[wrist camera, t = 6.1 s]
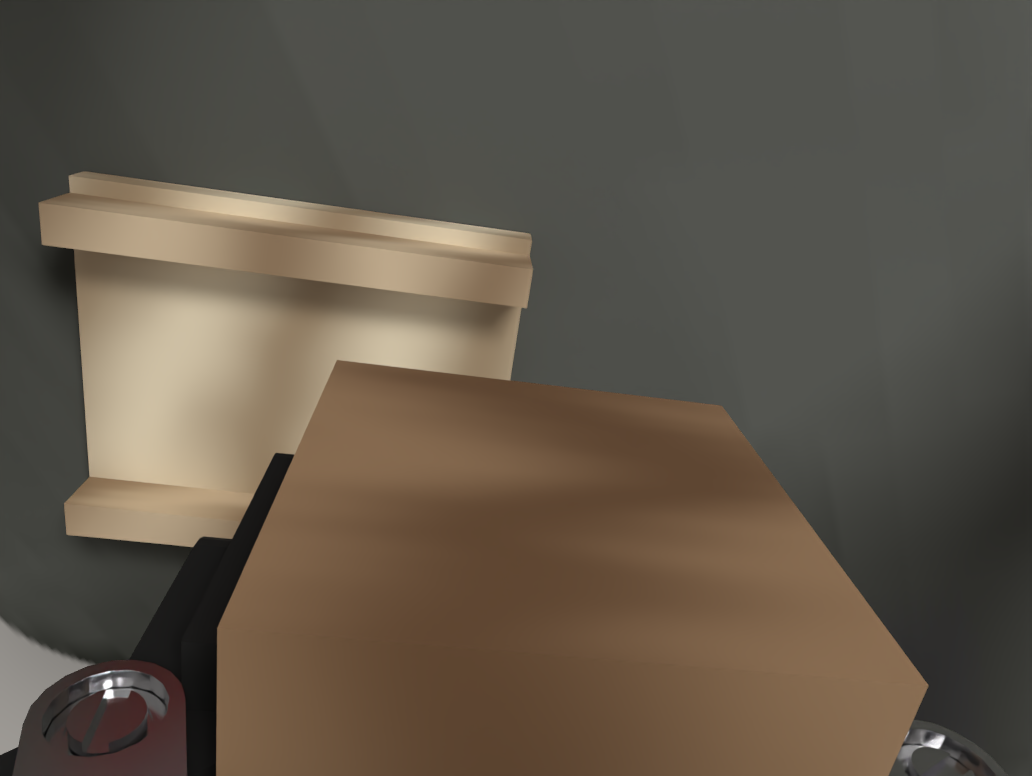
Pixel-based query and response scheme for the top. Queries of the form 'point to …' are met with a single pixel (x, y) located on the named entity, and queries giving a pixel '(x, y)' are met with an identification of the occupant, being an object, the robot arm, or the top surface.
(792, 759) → the walnut block
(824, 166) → the top surface
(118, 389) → the board
